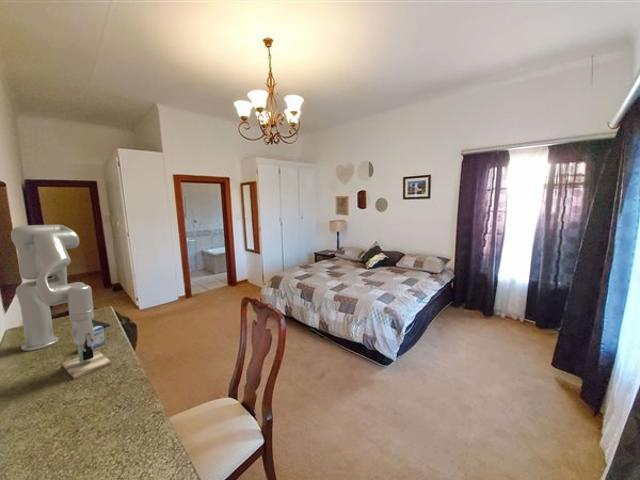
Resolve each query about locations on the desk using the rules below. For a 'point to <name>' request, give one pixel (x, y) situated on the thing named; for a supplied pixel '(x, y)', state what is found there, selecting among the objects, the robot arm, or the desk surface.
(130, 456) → the desk surface
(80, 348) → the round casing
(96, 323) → the smart home device
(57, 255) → the robot arm
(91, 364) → the birch board
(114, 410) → the desk surface
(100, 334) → the medicine box
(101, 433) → the desk surface
